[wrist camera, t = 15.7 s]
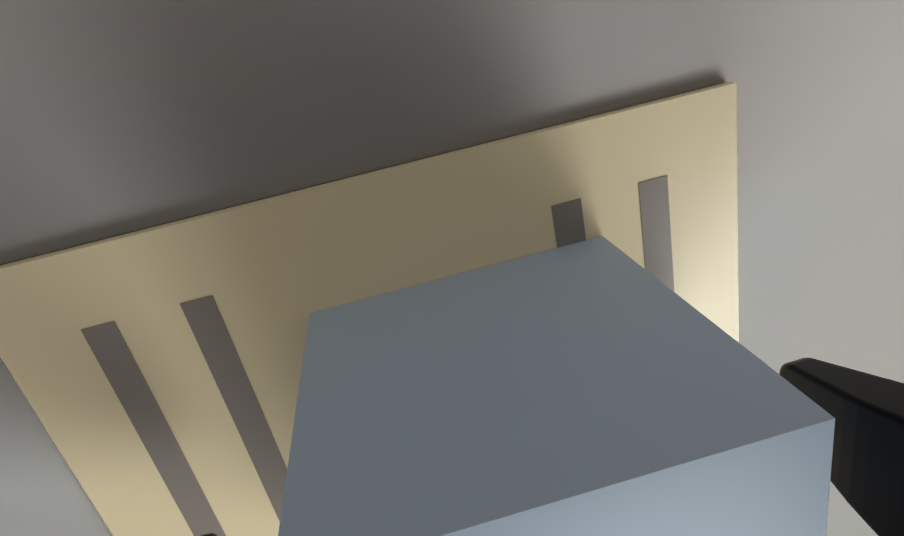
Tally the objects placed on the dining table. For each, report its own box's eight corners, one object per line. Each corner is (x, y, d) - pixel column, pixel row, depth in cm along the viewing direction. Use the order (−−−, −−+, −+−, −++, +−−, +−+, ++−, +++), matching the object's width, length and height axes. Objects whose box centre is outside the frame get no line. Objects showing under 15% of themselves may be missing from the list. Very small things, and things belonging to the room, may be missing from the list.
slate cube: (603, 235, 10) (834, 417, 5) (627, 462, 12) (809, 739, 7) (309, 313, 9) (270, 587, 5) (386, 533, 11) (414, 874, 7)
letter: (728, 81, 9) (737, 82, 9) (734, 493, 13) (740, 500, 13) (-39, 275, 8) (-49, 281, 8) (199, 659, 12) (197, 671, 12)
